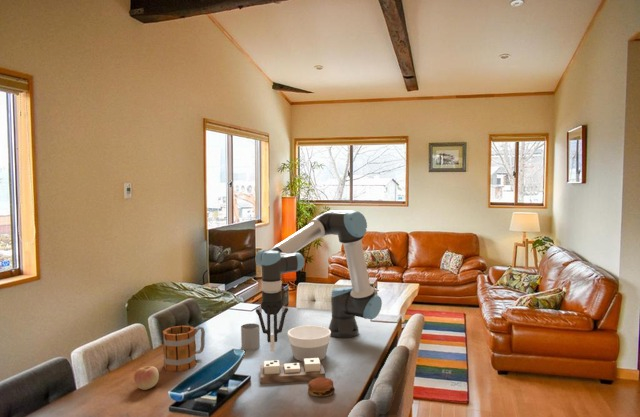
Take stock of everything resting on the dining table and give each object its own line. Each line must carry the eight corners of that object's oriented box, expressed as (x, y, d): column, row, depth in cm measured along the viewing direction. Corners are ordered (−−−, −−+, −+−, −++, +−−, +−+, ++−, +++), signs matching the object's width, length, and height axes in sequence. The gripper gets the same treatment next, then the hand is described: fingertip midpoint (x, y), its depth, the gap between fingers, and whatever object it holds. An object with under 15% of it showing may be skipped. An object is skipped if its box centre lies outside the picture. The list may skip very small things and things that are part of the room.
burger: (303, 391, 177) (303, 378, 177) (323, 385, 183) (323, 372, 182) (318, 401, 169) (318, 388, 169) (339, 394, 175) (339, 381, 174)
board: (321, 367, 199) (321, 361, 199) (325, 379, 187) (325, 373, 187) (260, 371, 196) (260, 365, 196) (260, 383, 184) (260, 377, 184)
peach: (135, 394, 176) (134, 373, 176) (134, 385, 184) (133, 364, 184) (160, 390, 180) (159, 369, 179) (158, 381, 188) (157, 361, 187)
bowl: (336, 350, 219) (336, 327, 218) (323, 366, 200) (322, 341, 200) (297, 346, 225) (297, 323, 224) (280, 361, 207) (280, 336, 206)
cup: (256, 351, 219) (255, 329, 219) (239, 349, 221) (238, 328, 220) (262, 344, 228) (261, 323, 227) (245, 343, 229) (245, 323, 229)
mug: (175, 374, 194) (174, 337, 193) (156, 366, 203) (155, 331, 202) (214, 359, 210) (213, 325, 209) (195, 352, 218) (194, 320, 217)
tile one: (318, 366, 196) (318, 357, 196) (320, 372, 190) (320, 362, 190) (303, 367, 195) (303, 358, 195) (305, 373, 189) (305, 363, 189)
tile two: (299, 371, 195) (298, 362, 195) (300, 377, 189) (300, 367, 189) (284, 372, 194) (284, 363, 194) (285, 378, 188) (284, 368, 188)
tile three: (279, 368, 194) (279, 359, 194) (279, 374, 188) (279, 365, 188) (264, 369, 193) (263, 360, 193) (264, 375, 187) (264, 366, 187)
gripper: (287, 288, 193) (288, 345, 194) (254, 289, 191) (255, 347, 193) (288, 292, 186) (289, 352, 187) (254, 293, 184) (255, 354, 185)
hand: (272, 350), depth 190 cm, fingers closed
